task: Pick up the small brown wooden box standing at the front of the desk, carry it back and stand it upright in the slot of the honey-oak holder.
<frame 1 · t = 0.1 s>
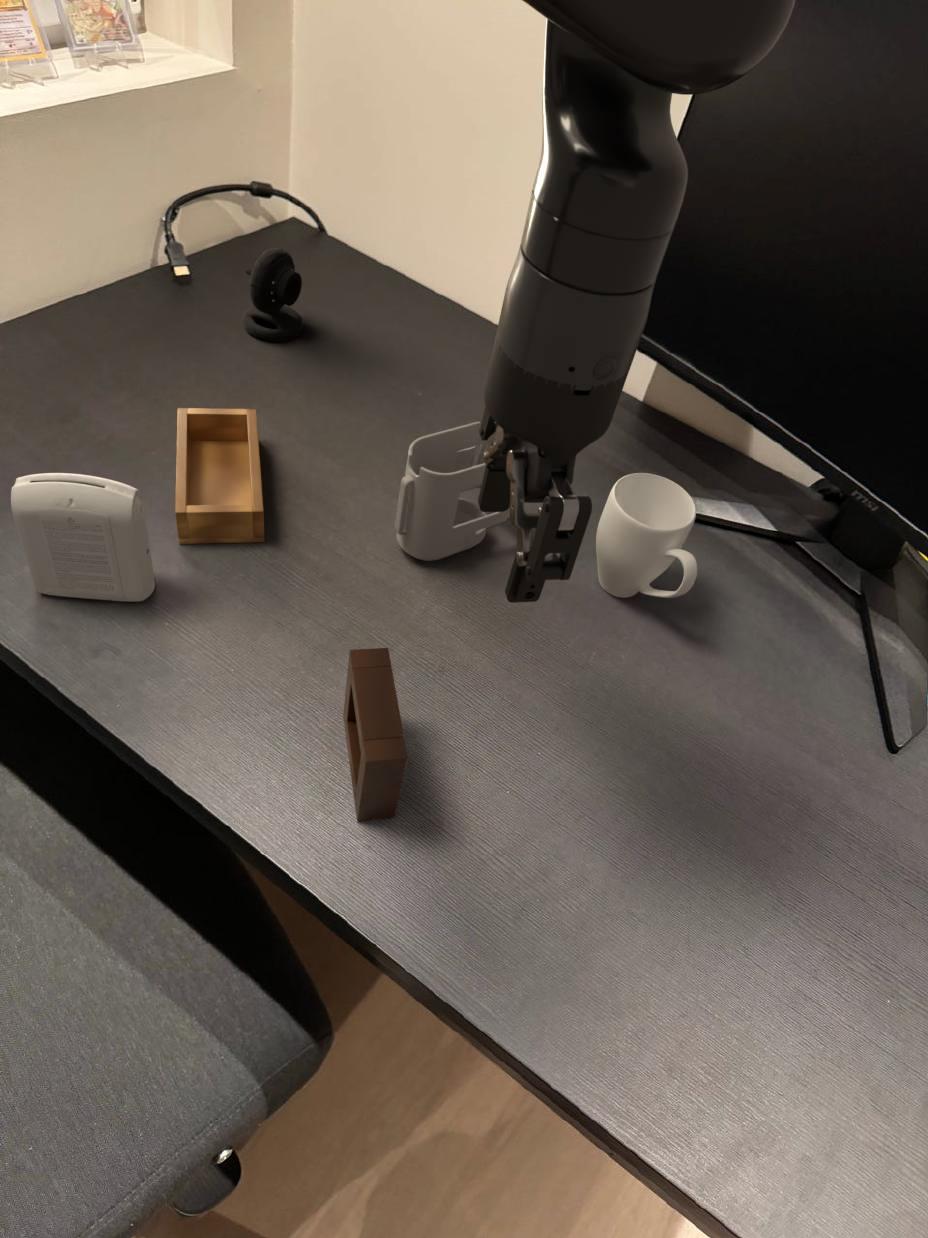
hand: (506, 551, 57), 21 cm above the table, tool pointing down, fingers open, 8 cm apart
mug: (627, 596, 87), on the table
brown wooden box: (368, 764, 69), on the table
holder: (220, 488, 87), on the table
webcam: (273, 327, 108), on the table
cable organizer: (450, 538, 88), on the table
photo printer: (97, 586, 76), on the table
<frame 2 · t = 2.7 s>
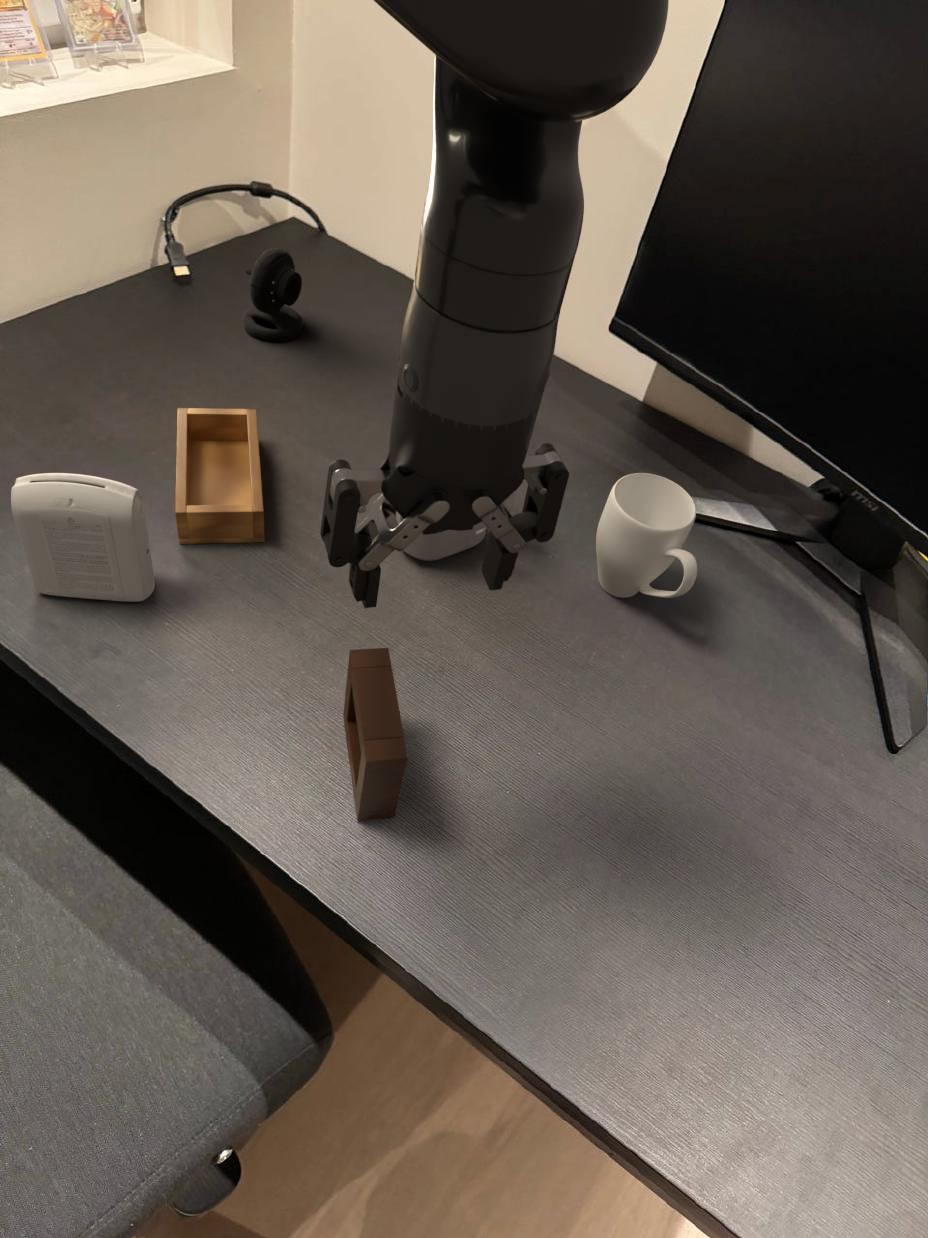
hand: (429, 589, 55), 20 cm above the table, tool pointing down, fingers open, 8 cm apart
nothing on the table moved.
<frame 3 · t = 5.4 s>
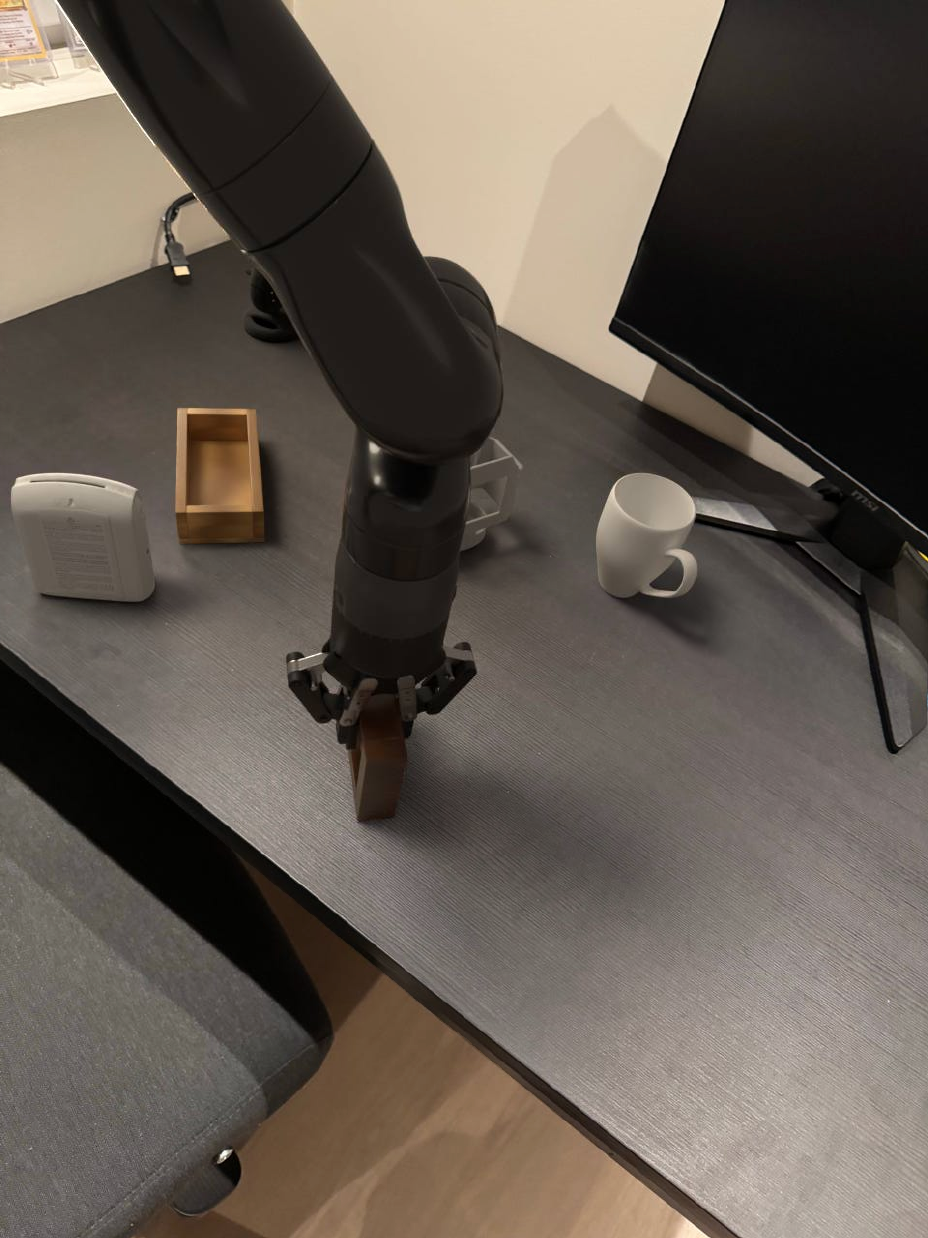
hand: (372, 737, 66), 4 cm above the table, tool pointing down, fingers closed on brown wooden box, 3 cm apart
brown wooden box: (368, 764, 69), on the table, touching gripper
everything else where it was.
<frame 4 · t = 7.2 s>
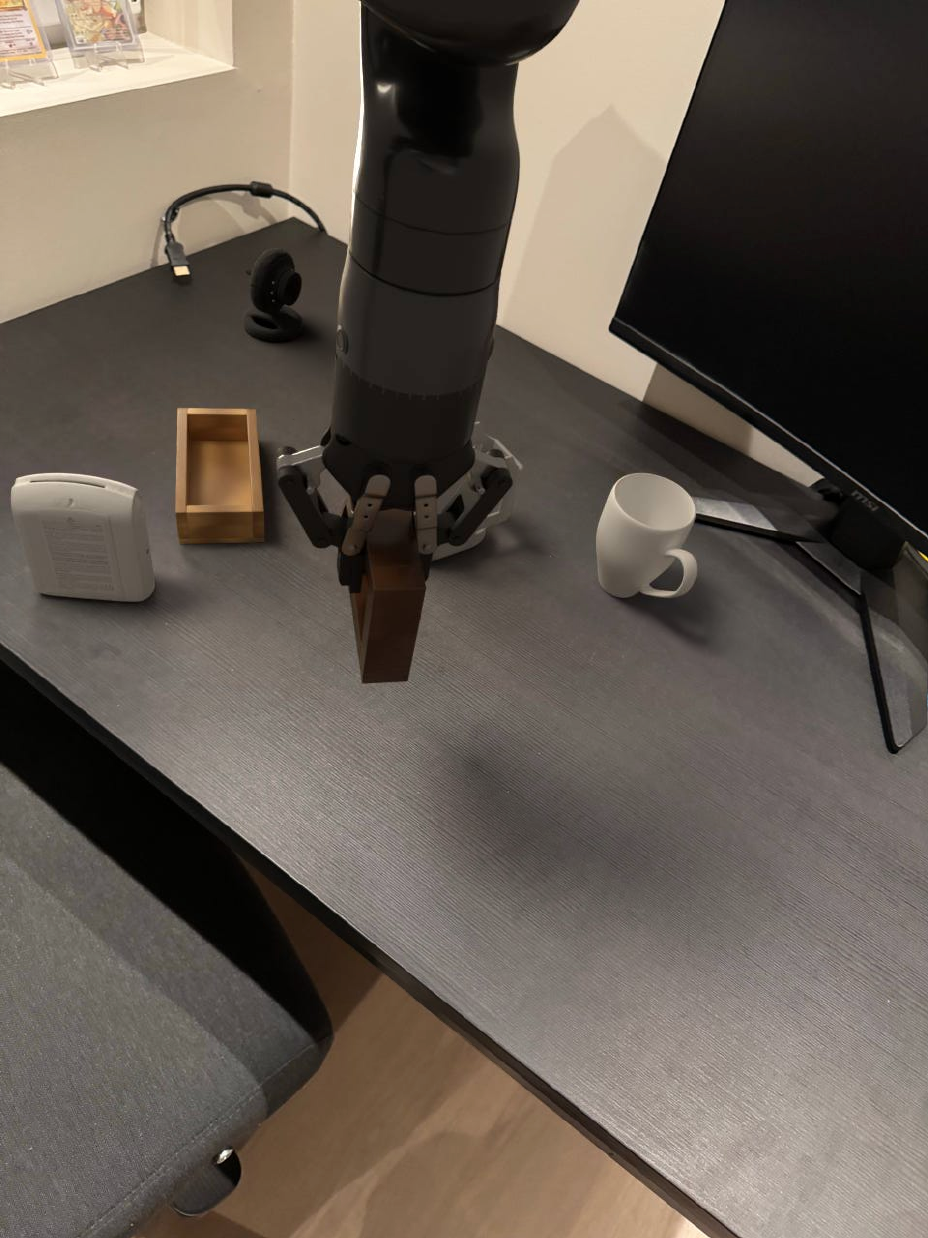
hand: (380, 582, 54), 21 cm above the table, tool pointing down, fingers closed on brown wooden box, 3 cm apart
brown wooden box: (375, 623, 57), point 16 cm above the table, touching gripper
everything else where it was.
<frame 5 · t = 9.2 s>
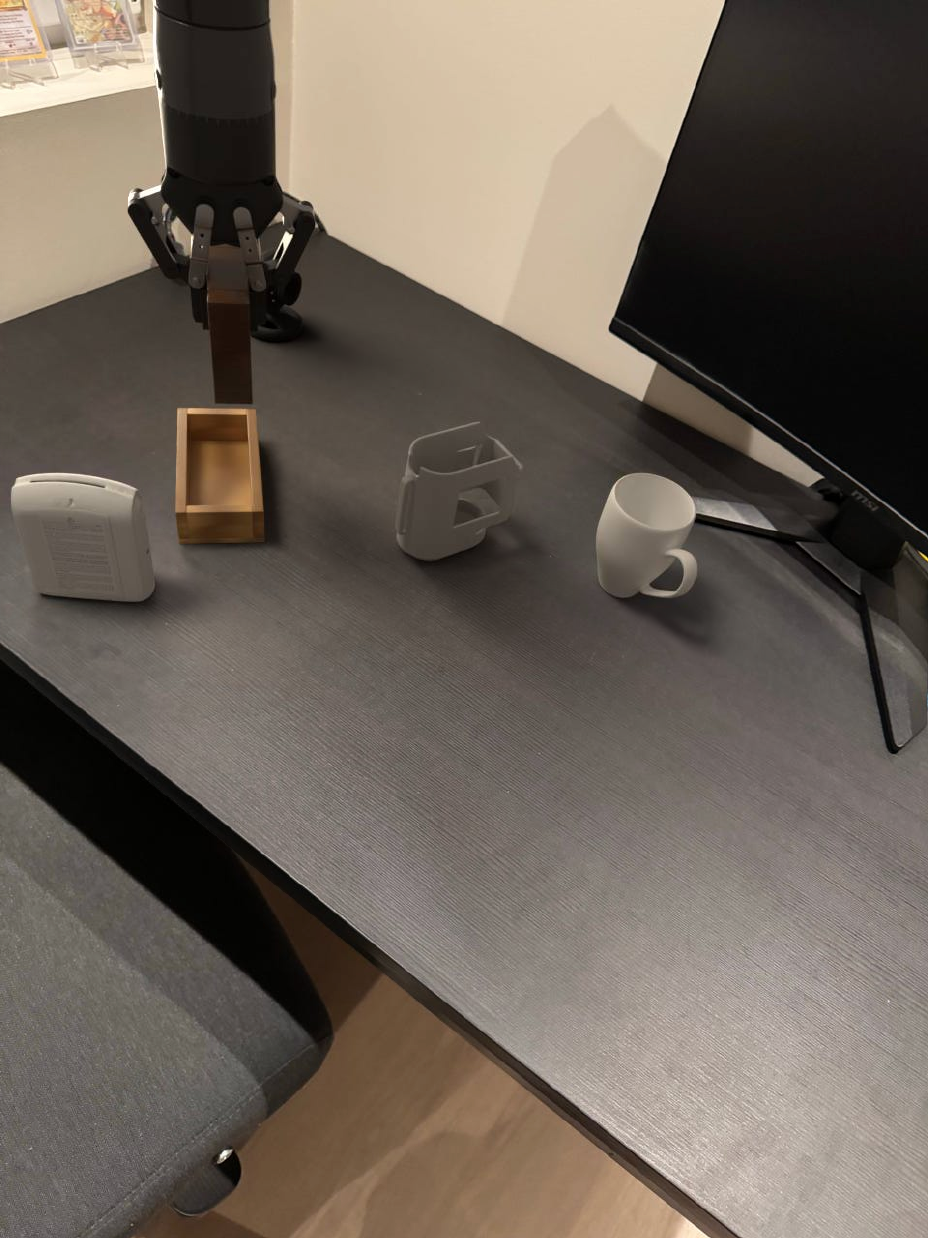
hand: (230, 324, 69), 21 cm above the table, tool pointing down, fingers closed on brown wooden box, 3 cm apart
brown wooden box: (233, 368, 72), point 17 cm above the table, touching gripper
everything else where it was.
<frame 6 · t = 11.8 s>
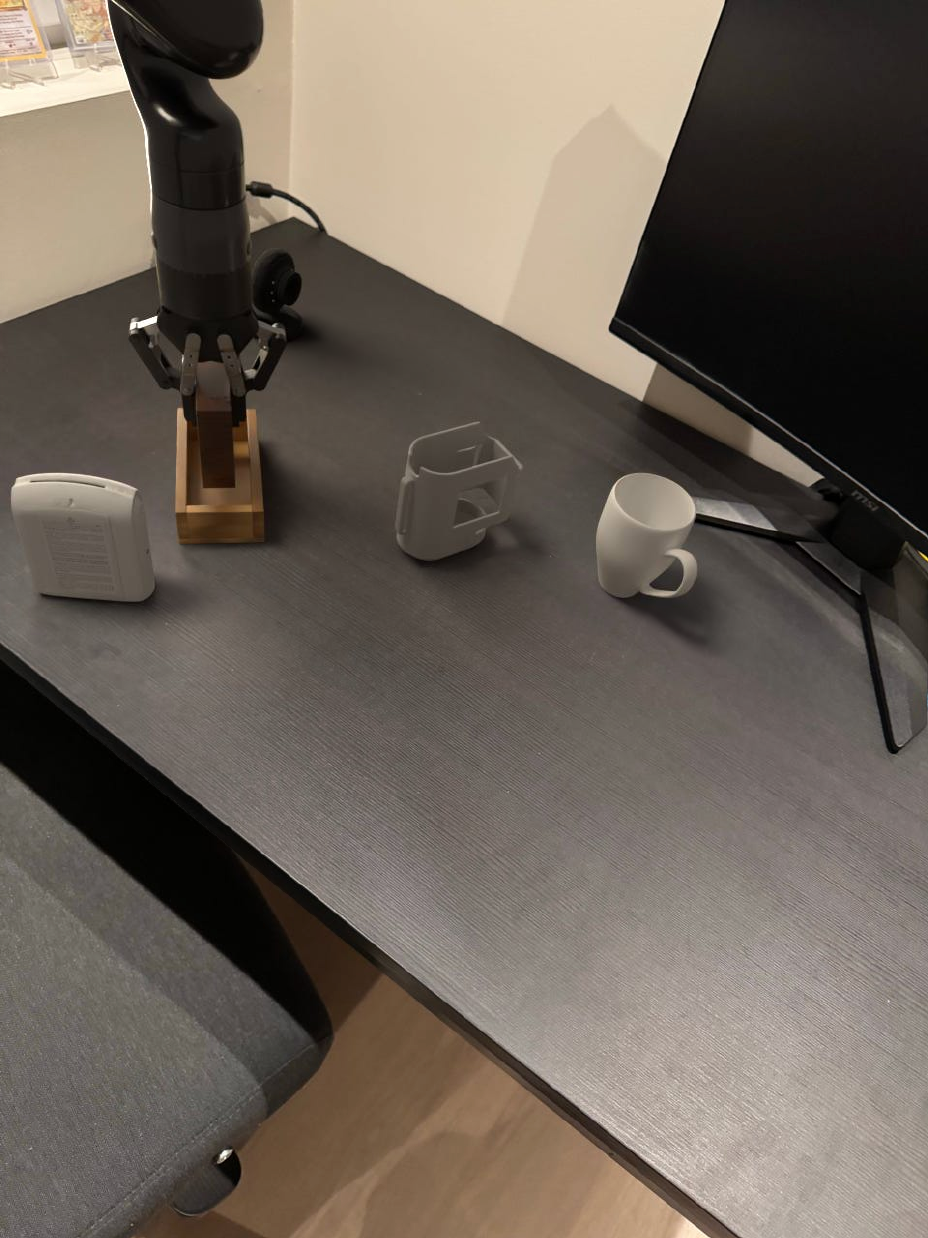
hand: (215, 421, 81), 8 cm above the table, tool pointing down, fingers closed on brown wooden box, 3 cm apart
brown wooden box: (218, 454, 84), point 4 cm above the table, touching gripper
everything else where it was.
when the fingers open (5 cm above the table, at t = 13.2 s): brown wooden box stays where it is, resting on holder.
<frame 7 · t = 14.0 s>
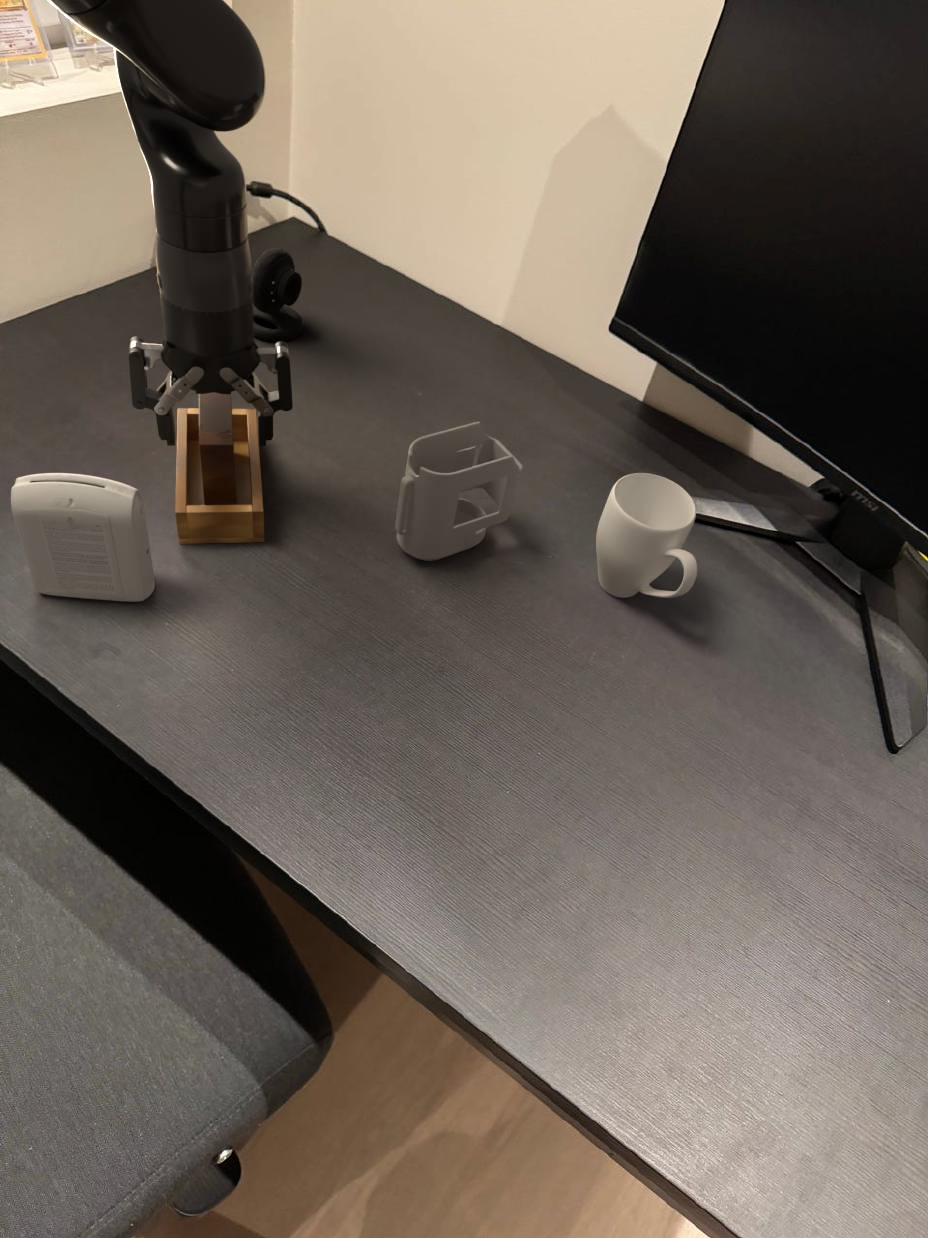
hand: (217, 440, 82), 6 cm above the table, tool pointing down, fingers open, 8 cm apart
brown wooden box: (220, 483, 87), point 1 cm above the table, touching holder
everything else where it was.
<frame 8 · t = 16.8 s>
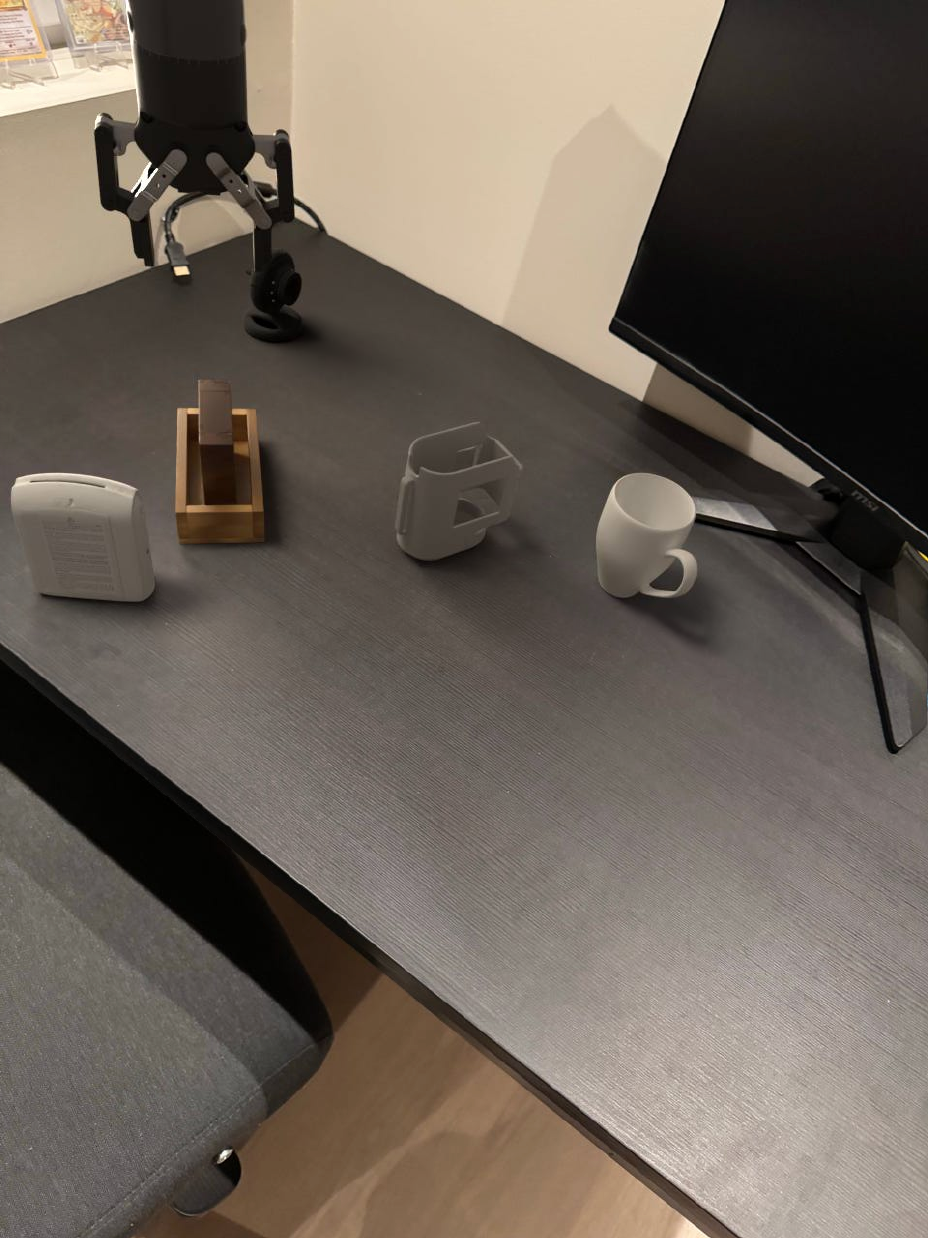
hand: (204, 264, 69), 24 cm above the table, tool pointing down, fingers open, 8 cm apart
nothing on the table moved.
at the end: brown wooden box 0.1 cm off-centre in the holder, point 0.6 cm above the holder's base; brown wooden box tilted 0°; the gripper is holding nothing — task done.
